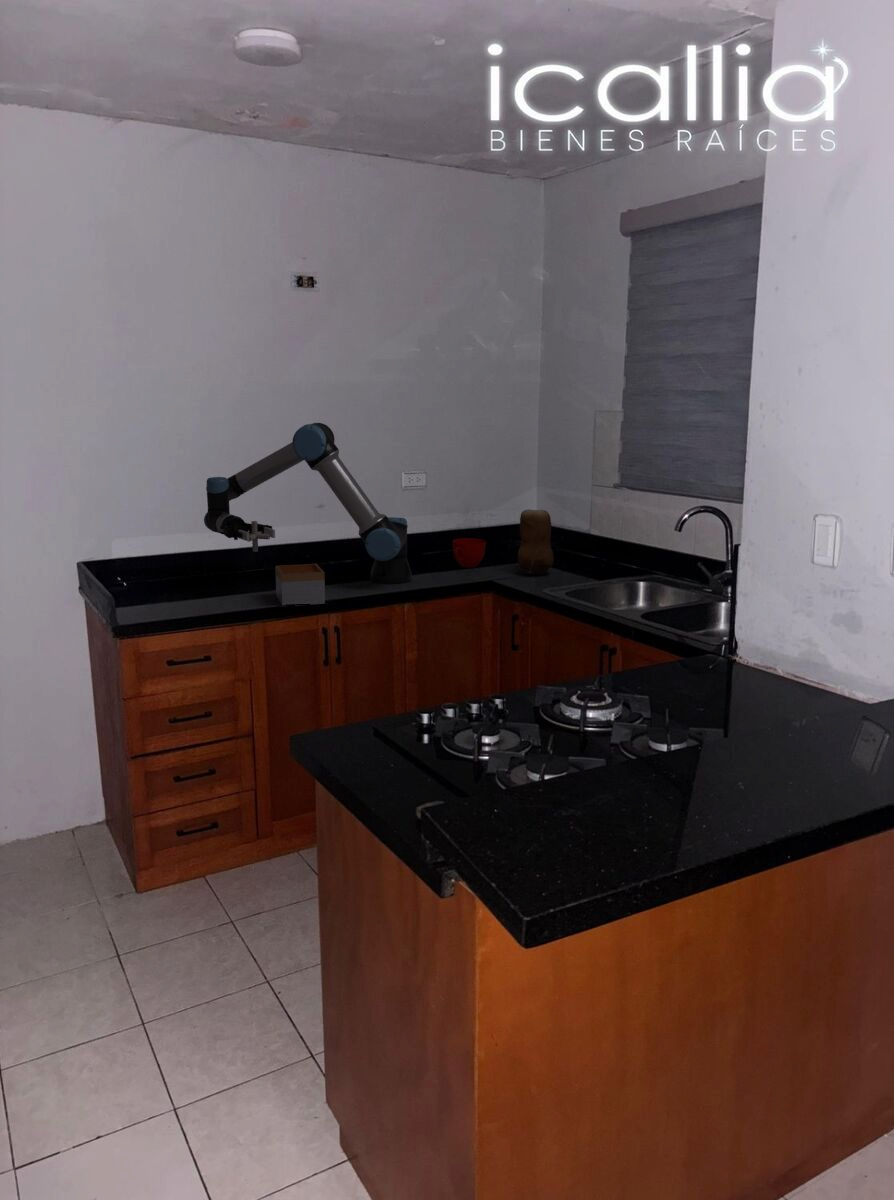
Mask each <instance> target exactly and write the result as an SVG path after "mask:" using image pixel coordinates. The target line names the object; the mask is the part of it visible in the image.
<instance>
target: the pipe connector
mask: <svg viewBox="0 0 894 1200" xmlns="http://www.w3.org/2000/svg"><path fill="white" fill-rule="evenodd" d="M257 523H258V521H257V520H252V521H251V524H252V533H249V541H247V542H249V543H250V542H252V543H251V544H252V546H251V547H252V552H254V553H257V552H259V540H270V539H271V537H270V534H263V532H262V531H259V532H257Z"/></svg>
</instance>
